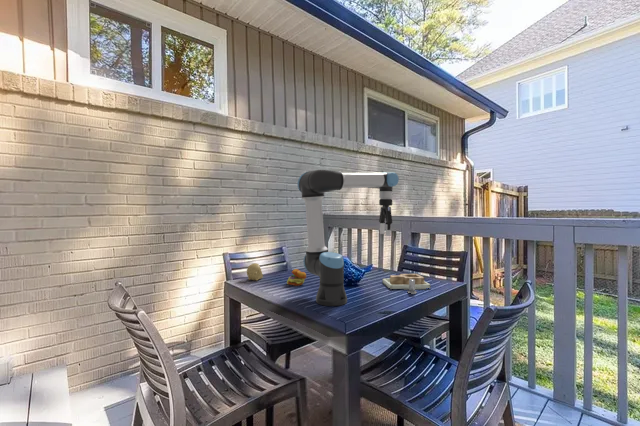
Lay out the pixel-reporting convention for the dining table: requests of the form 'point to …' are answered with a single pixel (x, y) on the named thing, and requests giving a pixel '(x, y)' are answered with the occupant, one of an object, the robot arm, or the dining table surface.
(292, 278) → the cheeseburger
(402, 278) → the collar
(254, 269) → the pale yellow lumpy ball
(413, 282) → the post
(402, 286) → the tray
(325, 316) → the dining table surface
